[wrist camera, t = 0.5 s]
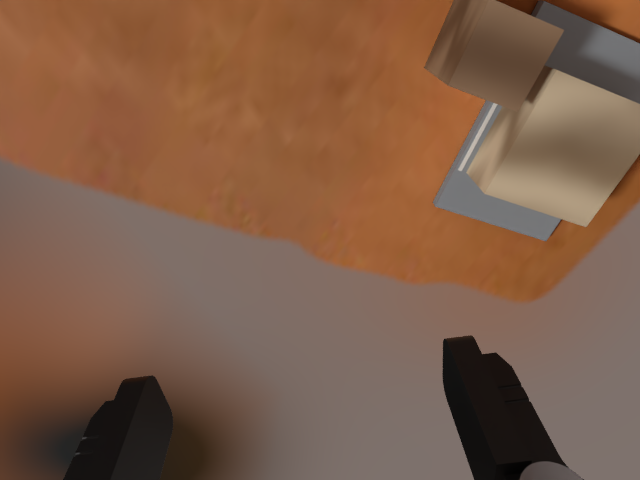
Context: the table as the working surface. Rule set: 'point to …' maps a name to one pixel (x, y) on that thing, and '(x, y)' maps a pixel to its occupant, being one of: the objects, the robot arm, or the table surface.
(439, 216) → the table surface
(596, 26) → the plate
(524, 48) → the block
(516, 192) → the pedestal
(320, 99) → the table surface
